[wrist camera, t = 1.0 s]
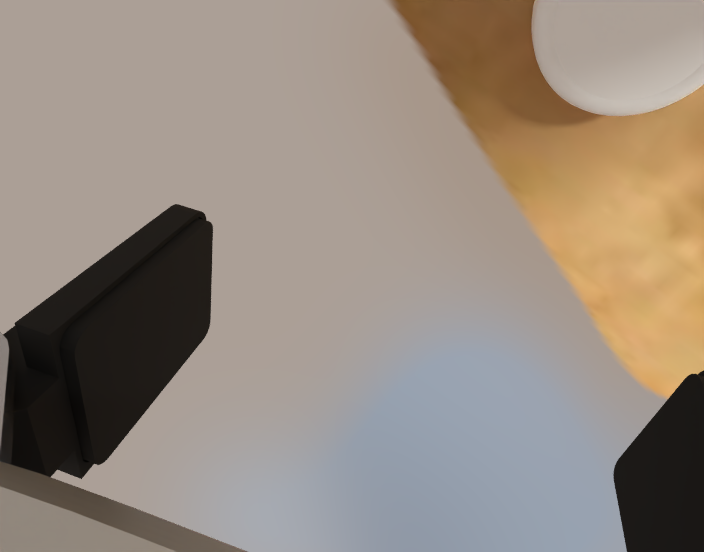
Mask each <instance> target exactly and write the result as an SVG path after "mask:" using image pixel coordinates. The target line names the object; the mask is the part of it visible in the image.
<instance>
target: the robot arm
mask: <svg viewBox="0 0 704 552" xmlns="http://www.w3.org/2000/svg"><path fill="white" fill-rule="evenodd" d="M212 237H213V226H212V224H211V222H209V221H206V216H205V214H204V213H203V212H201V211H197V210H194V209H191V208H188V207H184V206H181V205H177V204H175V205H173V206H171V207H170V208H168V209H167V210H166V211H164V212H163V213H161V214H160V215H159V216H158V217H156V218H155V219H153V220H152V221H151V222H149V223H148V224H147V225H145V226H144V227H143V228H141V229H140V230H139V231H138V232H136V233H135V234H133V235H132V236H131V237H129V238H128V239H127V240H125V241H124V242H123V243H121V244H120V245H119V246H117V247H116V248H115V249H113V250H112V251H111V252H109V253H108V254H107V255H105V256H104V257H103V258H101V259H100V260H99V261H97V262H96V263H94V264H93V265H92V266H90V267H89V268H88V269H86V270H85V271H84V272H82V273H81V274H80V275H78V276H77V277H76V278H74V279H73V280H72V281H70V282H69V283H68V284H66V285H65V286H64V287H63V288H61V289H60V290H58V291H57V292H56V293H55V294H53V295H52V296H50V297H49V298H48V299H46V300H45V301H44V302H42V303H41V304H40V305H38V306H37V307H36V308H34V309H33V310H32V311H30V312H29V313H28V314H26V315H25V316H23V317H22V318H21V319H19V320H18V321H17V322H15V326H14V327H13V328H11V329H10V330H9V331H7V332H6V333H5V334H1V332H0V552H247V551H245V550H242V549H239V548H237V547H234V546H231V545H229V544H226V543H224V542H221V541H219V540H216V539H213V538H210V537H208V536H206V535H203V534H200V533H198V532H195V531H193V530H190V529H187V528H185V527H182V526H180V525H177V524H174V523H172V522H169V521H167V520H164V519H162V518H159V517H156V516H154V515H151V514H148V513H146V512H143V511H141V510H138V509H136V508H133V507H130V506H127V505H125V504H122V503H119V502H117V501H114V500H111V499H108V498H106V497H103V496H100V495H97V494H94V493H92V492H89V491H86V490H84V489H81V488H78V487H75V486H72V485H70V484H67V483H64V482H62V481H59V480H56V479H53V478H51V476H52V475H53V474H54V473H55V471H56V470H60V471H63V472H65V473H68V474H70V475H73V476H75V477H78V478H81V479H82V478H83V476H84V475H85V474H86V473H87V472H88V470H89V469H90V468H91V467H92V465H93V464H97V465H100V464H102V463H103V462H105V461H106V460H107V459H108V458H109V456H110V455H111V454H112V453H113V451H114V450H115V449H116V448H117V446H118V445H119V444H120V443H121V441H122V440H123V439H124V438H125V436H126V435H127V434H128V433H129V431H130V430H131V429H132V428H133V426H134V425H135V424H136V423H137V421H138V420H139V419H140V418H141V416H142V415H143V414H144V413H145V411H146V410H147V409H148V408H149V406H150V405H151V404H152V403H153V401H154V400H155V399H156V398H157V396H158V395H159V394H160V393H161V391H162V390H163V389H164V388H165V386H166V385H167V384H168V383H169V382H170V380H171V379H172V378H173V377H174V375H175V374H176V373H177V371H178V370H179V369H180V368H181V366H182V365H183V364H184V363H185V361H186V360H187V359H188V358H189V357H190V355H191V354H192V353H193V352H194V350H195V349H196V348H197V346H198V345H199V344H200V343H201V342H202V340H203V339H204V338H205V336H206V334H207V332H208V329H209V326H210V313H211V275H212V240H213V238H212ZM614 483H615V489H616V494H617V499H618V505H619V510H620V516H621V521H622V526H623V532H624V538H625V543H626V548H627V552H704V371H702V372H700V373H699V374H698V375H697V374H691V375H689V376H687V377H686V378H685V379H684V381H683V382H682V383H681V384H680V386H679V387H678V388H677V389H676V390H675V392H674V393H673V394H672V395H671V396H670V398H669V399H668V400H667V401H666V402H665V404H664V405H663V406H662V407H661V409H660V410H659V411H658V412H657V413H656V415H655V416H654V417H653V418H652V419H651V421H650V422H649V423H648V424H647V425H646V427H645V428H644V429H643V430H642V432H641V433H640V434H639V435H638V436H637V437H636V439H635V440H634V441H633V442H632V443H631V445H630V446H629V447H628V448H627V450H626V451H625V452H624V453H623V455H622V456H621V457H620V458H619V459H618V461H617V463H616V465H615V468H614Z"/></svg>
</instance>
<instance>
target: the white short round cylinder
mask: <svg viewBox="0 0 704 552" xmlns="http://www.w3.org/2000/svg"><path fill="white" fill-rule="evenodd" d="M531 32H532V42H533V47H534V52H535V56H536V60H537V63H538V65H539V68H540V71H541V73H542V74H543V76H544V78H545V80H546V81H547V83H548V84H549V85H550V87H551V88H552V89H553V90H554V91H555V92H556V93H557V94H558V95H559V96H560V97H561V98H563V99H564V100H565V101H567V102H568V103H570V104H571V105H573V106H576V107H578V108H580V109H582V110H585V111H588V112H591V113H594V114H600V115H606V116H628V115H637V114H642V113H647V112H651V111H654V110H657V109H660V108H663V107H666V106H668V105H670V104H672V103H675V102H677V101H679V100H681V99H682V98H684V97H686V96H688V95H689V94H691V93H693V92H694V91H695V90H697V89H698V88H700V87H701V86H702V85H704V0H535V2H534V6H533V13H532V27H531Z"/></svg>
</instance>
